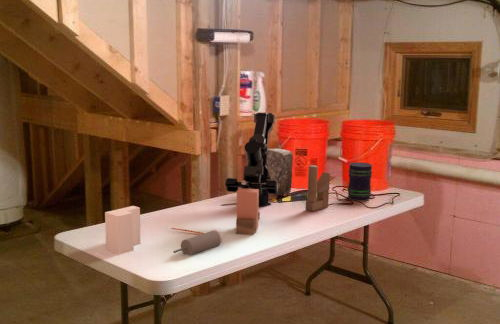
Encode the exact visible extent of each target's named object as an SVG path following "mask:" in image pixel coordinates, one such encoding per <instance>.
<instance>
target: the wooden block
mask: <svg viewBox="0 0 500 324" xmlns="http://www.w3.org/2000/svg"><path fill="white" fill-rule="evenodd" d="M318 170H319V169H318V166H317V165H309V166H308V174H307V175H308V177H307V178H308V180H307V201H306V200H305V211H309V212H315V211H319V210H322V209H326V208H328V207H329V196H330V177H331V176H330V175H331V173H329V172H322V173H321V175H320V176H319V178H318V172H319V171H318Z"/></svg>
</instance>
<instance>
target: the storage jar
mask: <svg viewBox="0 0 500 324" xmlns="http://www.w3.org/2000/svg"><path fill="white" fill-rule="evenodd" d="M348 167H349V168H348V177H349V179H348V185H347V199H349V200H353V201H360V202H361V201H365V202H366V201H369V200H371V194H372V190H371V189H372V186H371V179H372V176H373V175H372V174H373V171H372V170H373V168H372V167H373V165H372V164H371V163H370V162H369V163H368V162H357V161H356V162H350V163H349V164H348Z"/></svg>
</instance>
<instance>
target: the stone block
mask: <svg viewBox="0 0 500 324" xmlns="http://www.w3.org/2000/svg"><path fill="white" fill-rule="evenodd" d="M293 163H294V156H293V152H292V151H291V150H288V149H283V148H268V153H267V169H268V171H269V174H270V177H271V179H272V180H276V181H277V184H278V192H277V194H274V195H276V196H278V195H284V194H289V193H290V194H291V191H292V183H293V180H292V179H293V166H294V164H293Z"/></svg>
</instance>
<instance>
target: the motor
mask: <svg viewBox="0 0 500 324" xmlns="http://www.w3.org/2000/svg"><path fill="white" fill-rule="evenodd" d="M170 229H172V230H176V231H179V233H181V234H185V232H186V235H187V234H189V235H195V236H192V237H189V238H186V239H183V240H182V241H181V243H180V248H179V249H176V250H173V253H174V254H176V253H180V252H182V253H183V254H184V255H187V256H192V255H194V254H197V253H200V252H203V251H206V250H209V249H211V248H214V247H218V246H220V245H221V244H222V241H223V236H222V234H221V232H219V231H218V229H214V230H210V231H207V232H201V231H193V230H188V229H182V228H181V229H180V228H176V227H170Z"/></svg>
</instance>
